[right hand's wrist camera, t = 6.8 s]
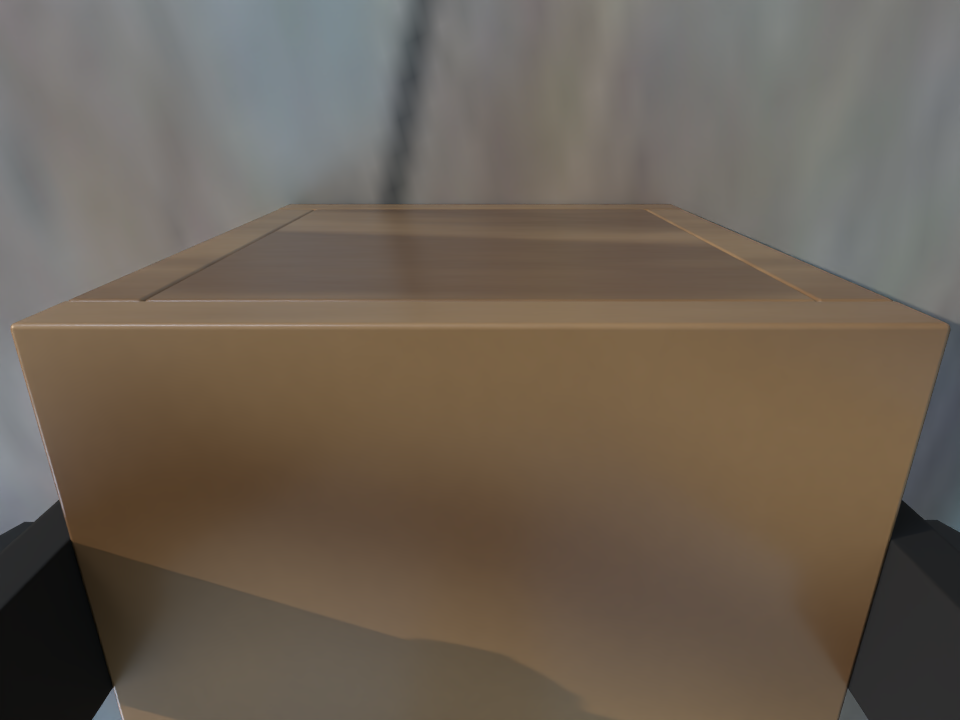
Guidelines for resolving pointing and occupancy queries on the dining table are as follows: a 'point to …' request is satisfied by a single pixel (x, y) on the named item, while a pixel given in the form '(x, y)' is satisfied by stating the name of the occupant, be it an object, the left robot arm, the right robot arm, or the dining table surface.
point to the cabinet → (480, 466)
